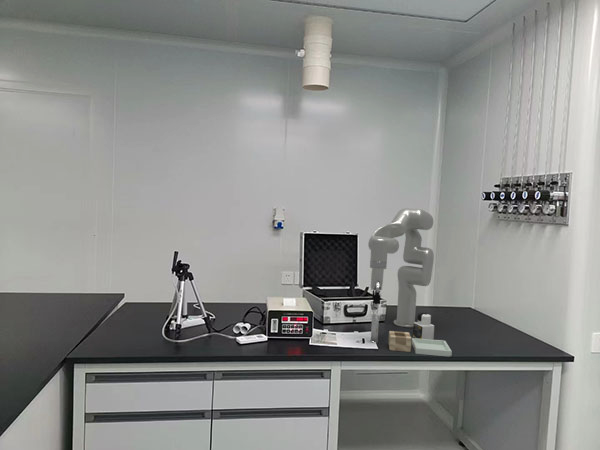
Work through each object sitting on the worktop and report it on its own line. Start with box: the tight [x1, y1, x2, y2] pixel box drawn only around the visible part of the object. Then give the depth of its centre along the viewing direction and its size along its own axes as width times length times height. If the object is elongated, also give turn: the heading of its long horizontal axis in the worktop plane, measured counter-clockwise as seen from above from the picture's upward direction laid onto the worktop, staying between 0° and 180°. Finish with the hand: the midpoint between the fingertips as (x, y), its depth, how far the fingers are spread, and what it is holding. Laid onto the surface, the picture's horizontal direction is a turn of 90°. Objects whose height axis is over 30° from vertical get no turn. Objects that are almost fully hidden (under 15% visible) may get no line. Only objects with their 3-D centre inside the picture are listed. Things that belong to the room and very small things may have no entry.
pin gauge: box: [370, 314, 380, 343], centre depth 211 cm, size 3×3×12 cm
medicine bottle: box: [412, 312, 435, 340], centre depth 220 cm, size 7×7×12 cm
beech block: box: [388, 330, 412, 353], centre depth 204 cm, size 9×9×6 cm
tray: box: [411, 337, 453, 358], centre depth 203 cm, size 15×15×2 cm
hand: (376, 301), depth 210 cm, fingers open, 9 cm apart
